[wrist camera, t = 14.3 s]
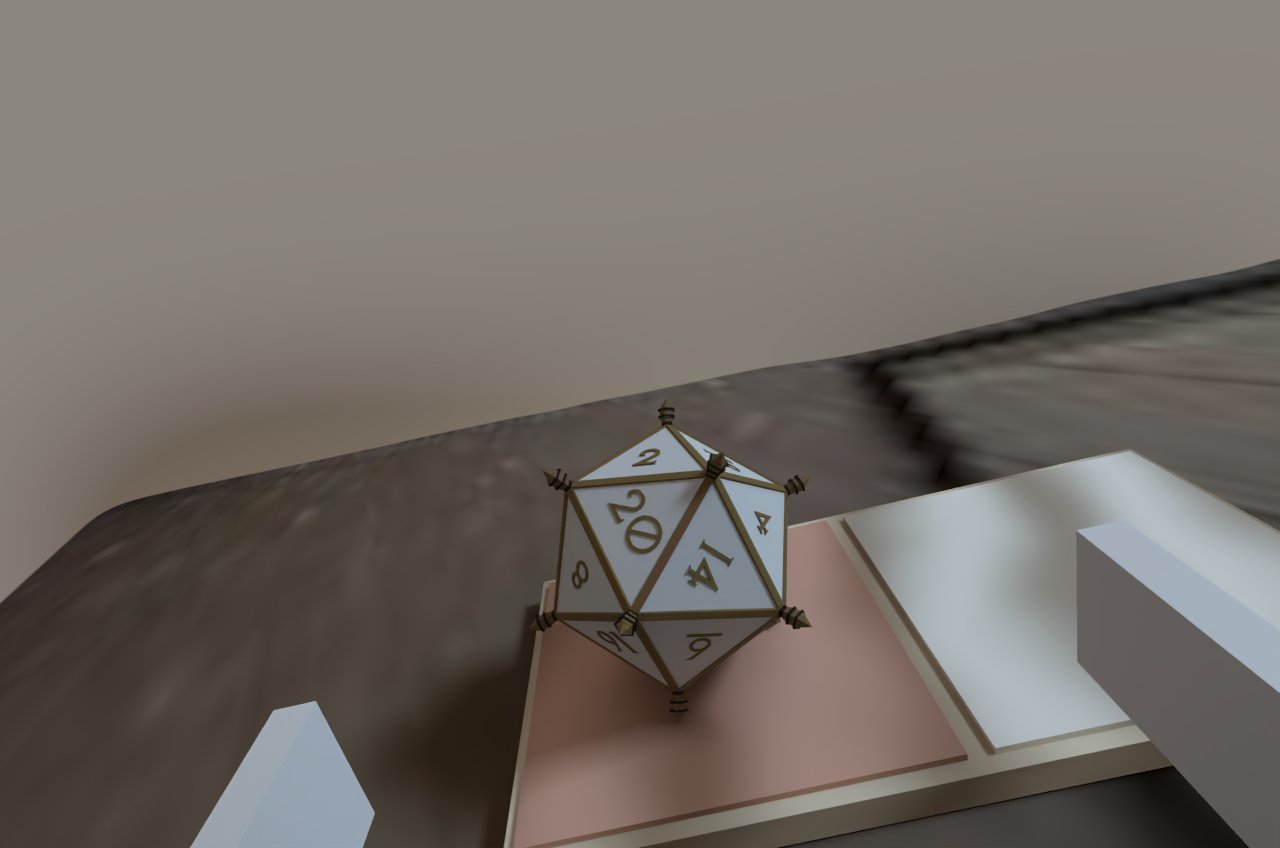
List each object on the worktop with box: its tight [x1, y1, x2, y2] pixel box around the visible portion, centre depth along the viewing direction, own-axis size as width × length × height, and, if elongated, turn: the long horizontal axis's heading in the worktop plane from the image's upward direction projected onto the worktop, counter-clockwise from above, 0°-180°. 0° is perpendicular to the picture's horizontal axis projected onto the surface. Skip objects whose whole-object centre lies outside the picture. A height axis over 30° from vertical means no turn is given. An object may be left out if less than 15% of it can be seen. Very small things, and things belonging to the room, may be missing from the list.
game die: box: [529, 398, 812, 725], centre depth 22 cm, size 9×8×10 cm
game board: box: [504, 449, 1280, 848], centre depth 23 cm, size 25×13×1 cm, turn 93°
